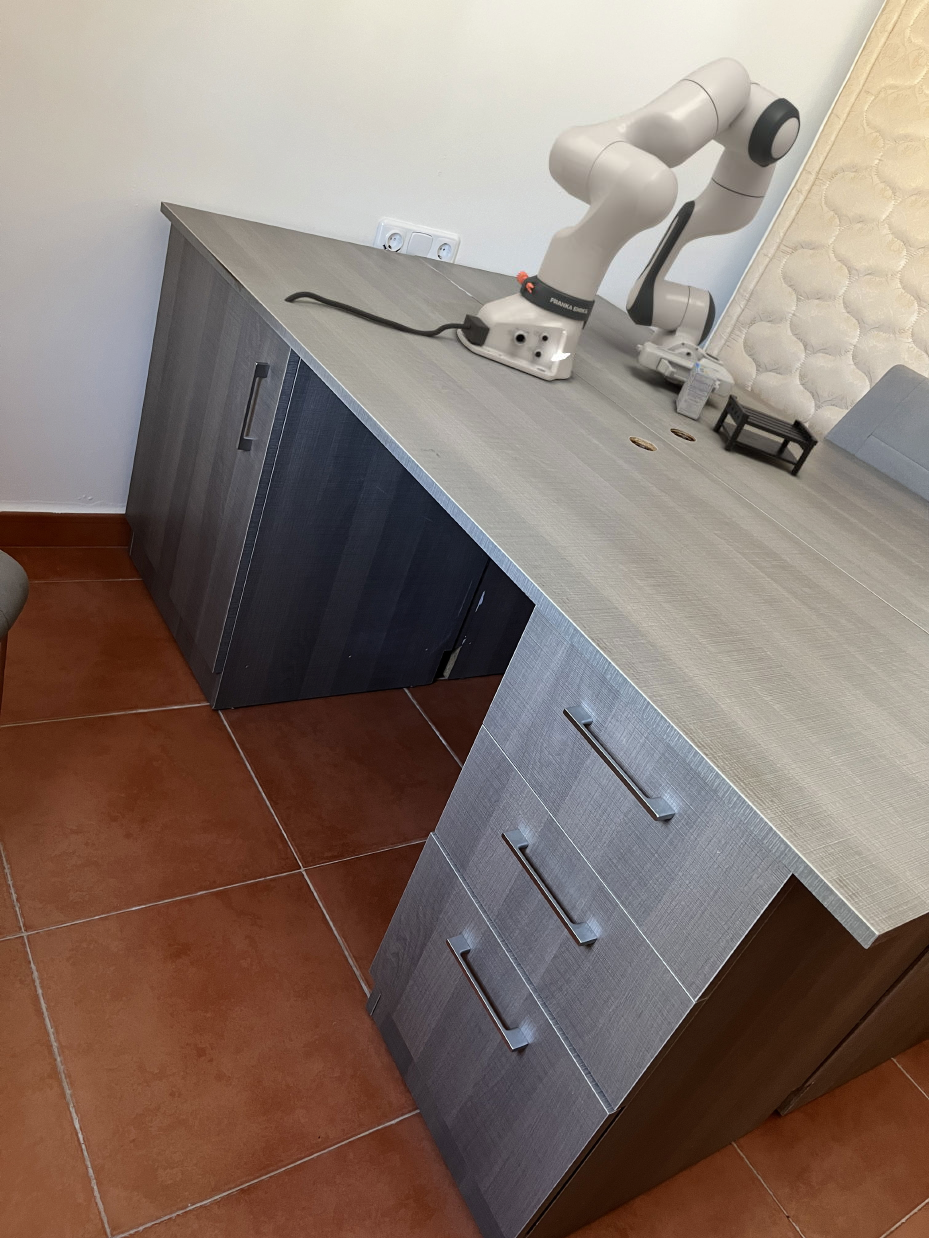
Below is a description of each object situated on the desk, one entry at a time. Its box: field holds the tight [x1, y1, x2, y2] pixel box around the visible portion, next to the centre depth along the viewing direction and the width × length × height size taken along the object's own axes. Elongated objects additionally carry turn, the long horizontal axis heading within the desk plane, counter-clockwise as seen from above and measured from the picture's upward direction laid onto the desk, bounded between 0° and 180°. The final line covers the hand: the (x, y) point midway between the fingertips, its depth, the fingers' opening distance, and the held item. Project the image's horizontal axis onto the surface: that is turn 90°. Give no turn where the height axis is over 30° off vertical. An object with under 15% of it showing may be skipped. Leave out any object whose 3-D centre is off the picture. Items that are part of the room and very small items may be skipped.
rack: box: [712, 393, 819, 477], centre depth 175 cm, size 15×11×7 cm
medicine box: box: [675, 363, 717, 421], centre depth 182 cm, size 8×4×9 cm, turn 168°
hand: (692, 381), depth 185 cm, fingers open, 8 cm apart
